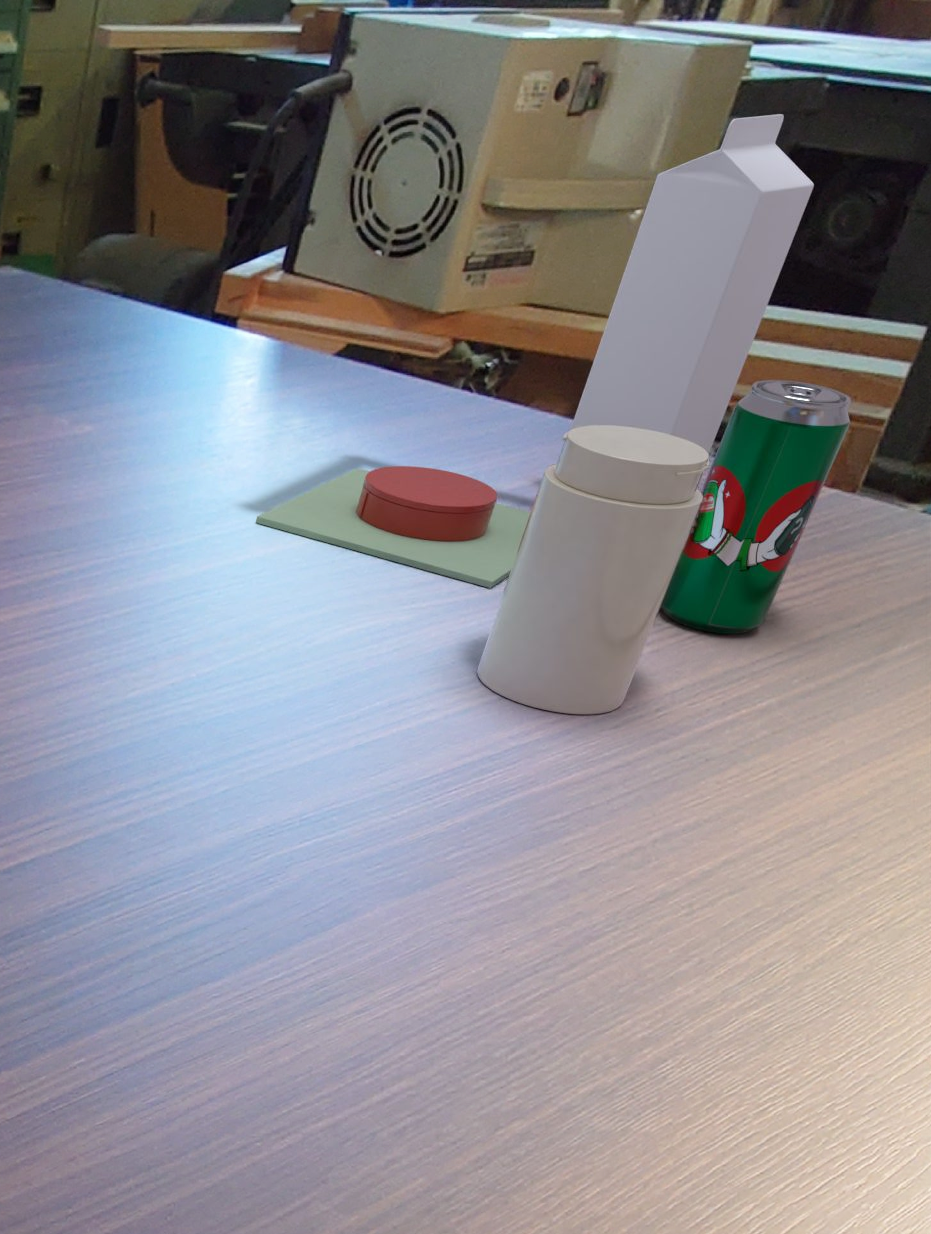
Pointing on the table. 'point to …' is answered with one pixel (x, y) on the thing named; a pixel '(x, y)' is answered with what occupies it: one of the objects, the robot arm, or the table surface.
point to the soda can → (756, 504)
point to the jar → (593, 568)
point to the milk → (697, 287)
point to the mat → (338, 523)
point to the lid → (426, 503)
